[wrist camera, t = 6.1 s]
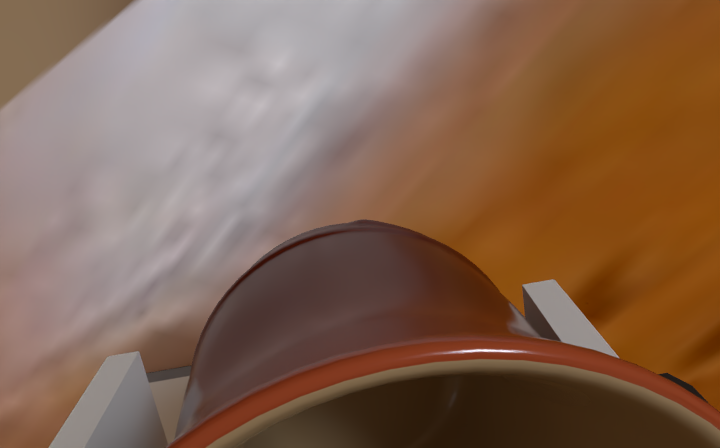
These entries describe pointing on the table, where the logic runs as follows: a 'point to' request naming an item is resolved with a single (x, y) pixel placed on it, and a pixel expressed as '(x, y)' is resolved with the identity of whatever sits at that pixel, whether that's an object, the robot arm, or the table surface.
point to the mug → (409, 360)
